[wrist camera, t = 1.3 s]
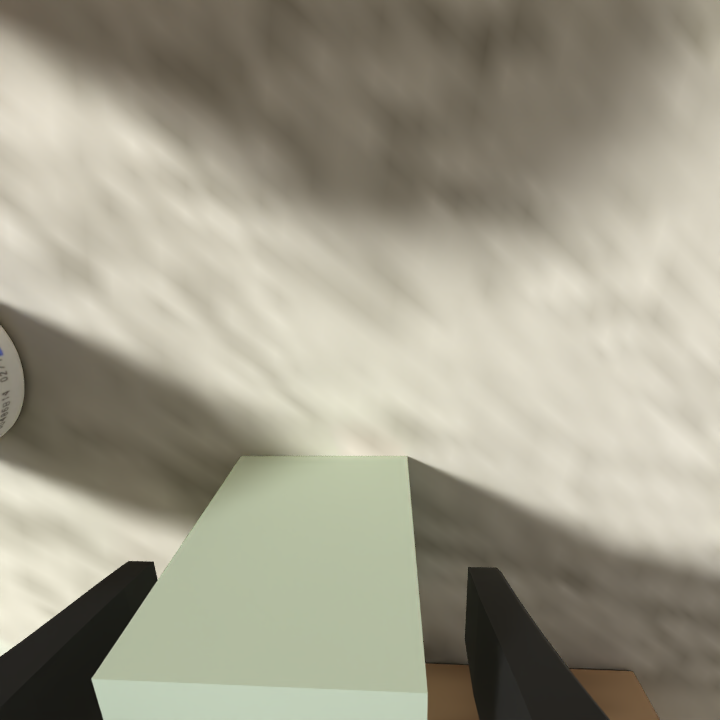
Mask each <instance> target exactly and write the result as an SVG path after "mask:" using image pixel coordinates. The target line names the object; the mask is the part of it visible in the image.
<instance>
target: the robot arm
mask: <svg viewBox="0 0 720 720" xmlns="http://www.w3.org/2000/svg"><path fill="white" fill-rule="evenodd" d="M157 581H158V580H157V575H156V571H155V566H154V562H143V561H128V562H127V563H125V564H124V565H122V566H121V567H120V568H118V569H117V570H115V571H114V572H113V573H111V574H110V575H109V576H107V577H106V578H105V579H103V580H102V581H101V582H99V583H98V584H97V585H95V586H94V587H93V588H91V589H90V590H89V591H88V592H86V593H85V594H84V595H82V596H81V597H80V598H78V599H77V600H76V601H74V602H73V603H72V604H70V605H69V606H68V607H67V608H65V609H64V610H63V611H61V612H60V613H59V614H57V615H56V616H55V617H53V618H52V619H51V620H49V621H48V622H47V623H45V624H44V625H43V626H41V627H40V628H39V629H37V630H36V631H35V632H33V633H32V634H31V635H29V636H28V637H27V638H25V639H24V640H23V641H21V642H20V643H19V644H17V645H16V646H14V647H13V648H12V649H10V650H9V651H7V652H6V653H5V654H3V655H2V656H0V720H103V717H102V713H101V710H100V707H99V703H98V700H97V696H96V693H95V690H94V686H93V683H92V677H93V676H94V674H95V673H96V671H97V670H98V668H99V667H100V665H101V664H102V662H103V661H104V659H105V658H106V656H107V655H108V653H109V652H110V651H111V649H112V648H113V646H114V645H115V643H116V642H117V640H118V639H119V637H120V636H121V634H122V633H123V631H124V630H125V628H126V627H127V625H128V624H129V622H130V621H131V619H132V618H133V616H134V615H135V613H136V612H137V610H138V609H139V607H140V606H141V604H142V603H143V601H144V600H145V598H146V597H147V595H148V594H149V592H150V591H151V589H152V588H153V587H154V585H155V584H156V582H157ZM465 643H466V650H467V657H468V663H469V670H470V677H471V683H472V689H473V695H474V699H475V704H476V708H477V712H478V716H479V720H610V719H609V718H608V716H607V715H606V714H605V713H604V712H603V710H602V709H601V708H600V707H599V706H598V704H597V703H596V702H595V701H594V699H593V698H592V697H591V696H590V695H589V693H588V692H587V691H586V690H585V688H584V687H583V686H582V685H581V683H580V682H579V681H578V680H577V678H576V677H575V676H574V675H573V673H572V672H571V671H570V669H569V668H568V667H567V665H566V664H565V663H564V661H563V660H562V659H561V657H560V656H559V655H558V653H557V652H556V651H555V649H554V648H553V647H552V646H551V644H550V643H549V642H548V640H547V639H546V637H545V636H544V635H543V633H542V632H541V631H540V629H539V628H538V626H537V625H536V624H535V622H534V621H533V619H532V618H531V616H530V615H529V614H528V612H527V611H526V609H525V608H524V606H523V605H522V603H521V602H520V600H519V599H518V597H517V596H516V594H515V593H514V591H513V590H512V588H511V587H510V585H509V584H508V582H507V581H506V579H505V577H504V576H503V574H502V573H501V572H500V571H499V570H498V569H497V568H483V567H468V584H467V605H466V626H465Z"/></svg>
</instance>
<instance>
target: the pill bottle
mask: <svg viewBox="0 0 720 720" xmlns="http://www.w3.org/2000/svg"><path fill="white" fill-rule="evenodd" d="M23 400H24V375H23V369H22V365H21V361H20V358H19V355H18V352H17V350H16V348H15V347H14V345H13V343H12V341H11V339H10V337H9V336H8V334H7V333H6V331H5V330H4V329H3V328H2V326H1V325H0V437H1V436H3V435H4V434H5V433H6V432H7V431H8V430H9V429H10V428H11V427H12V426H13V425H14V423H15V422H16V420H17V419H18V416H19V414H20V411H21V408H22V405H23Z"/></svg>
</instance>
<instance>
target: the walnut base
mask: <svg viewBox="0 0 720 720" xmlns="http://www.w3.org/2000/svg"><path fill="white" fill-rule="evenodd" d="M425 668H426V680H427V692H428V703H427V720H479V716H478V712H477V708H476V704H475V699H474V695H473V689H472V683H471V677H470V670H469V665H452V664H426V663H425ZM570 671H571V672H572V673H573V675H574V676H575V677H576V678H577V680H578V681H579V682H580V683H581V685H582V686H583V687H584V688H585V690H586V691H587V692H588V693H589V695H590V696H591V697H592V698H593V699H594V701H595V702H596V703H597V704H598V706H599V707H600V708H601V709H602V710H603V712H604V713H605V714H606V715H607V716H608V718H609V719H610V720H660V719H659V717H658V715H657V714H656V712H655V710H654V708H653V706H652V705H651V703H650V701H649V699H648V697H647V696H646V694H645V692H644V690H643V689H642V687H641V685H640V683H639V681H638V680H637V678H636V676H635V674H634V673H633V671H612V670H586V669H570Z"/></svg>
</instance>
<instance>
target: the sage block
mask: <svg viewBox="0 0 720 720" xmlns="http://www.w3.org/2000/svg"><path fill="white" fill-rule="evenodd" d="M92 683H93V686H94V690H95V693H96V696H97V700H98V703H99V707H100V710H101V713H102V717H103V720H427V703H428V692H427V680H426V668H425V657H424V645H423V634H422V622H421V611H420V599H419V587H418V576H417V564H416V553H415V541H414V530H413V518H412V506H411V495H410V483H409V472H408V460H407V456H241V457H240V459H239V460H238V461H237V463H236V464H235V466H234V467H233V469H232V470H231V472H230V473H229V475H228V476H227V478H226V479H225V481H224V482H223V484H222V485H221V487H220V488H219V490H218V491H217V493H216V494H215V496H214V497H213V499H212V500H211V502H210V503H209V505H208V506H207V508H206V509H205V511H204V512H203V514H202V515H201V517H200V518H199V520H198V521H197V523H196V524H195V525H194V527H193V528H192V530H191V531H190V533H189V534H188V536H187V537H186V539H185V540H184V542H183V543H182V545H181V546H180V548H179V549H178V551H177V552H176V554H175V555H174V557H173V558H172V560H171V561H170V563H169V564H168V566H167V567H166V569H165V570H164V572H163V573H162V575H161V576H160V578H159V579H158V581H157V582H156V584H155V585H154V587H153V588H152V589H151V591H150V592H149V594H148V595H147V597H146V598H145V600H144V601H143V603H142V604H141V606H140V607H139V609H138V610H137V612H136V613H135V615H134V616H133V618H132V619H131V621H130V622H129V624H128V625H127V627H126V628H125V630H124V631H123V633H122V634H121V636H120V637H119V639H118V640H117V642H116V643H115V645H114V646H113V648H112V649H111V651H110V652H109V653H108V655H107V656H106V658H105V659H104V661H103V662H102V664H101V665H100V667H99V668H98V670H97V671H96V673H95V674H94V676H93V677H92Z"/></svg>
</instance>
